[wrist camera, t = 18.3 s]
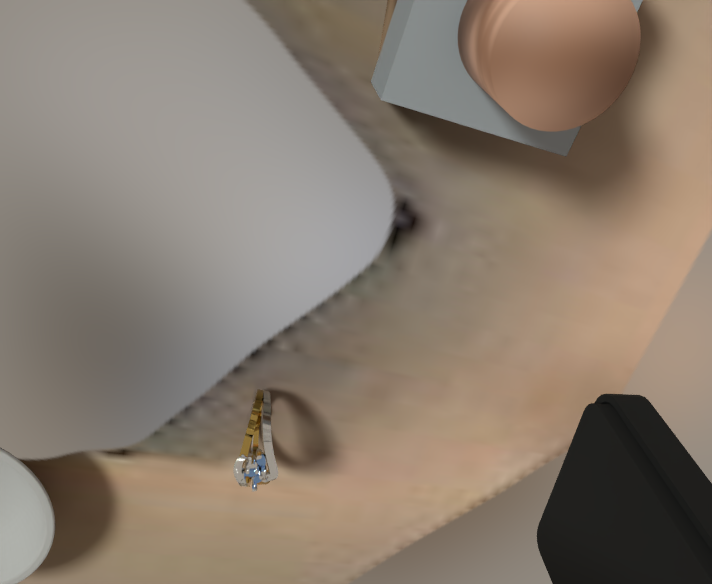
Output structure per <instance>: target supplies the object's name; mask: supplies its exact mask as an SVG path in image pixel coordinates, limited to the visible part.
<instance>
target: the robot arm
mask: <svg viewBox="0 0 712 584" xmlns="http://www.w3.org/2000/svg"><path fill="white" fill-rule="evenodd" d="M537 542H538V548H539V551H540V554H541V556H542V559H543V561H544V564H545V566H546V569H547V571H548V573H549V576H550V578H551V581H552V583H553V584H712V483H711V482H710V481H709V480H708V478H707V477H706V476H705V474H704V473H703V472H702V470H701V469H700V468H699V466H698V465H697V464H696V462H695V461H694V460H693V458H692V457H691V456H690V454H689V453H688V452H687V450H686V449H685V448H684V446H683V445H682V444H681V443H680V441H679V440H678V439H677V437H676V436H675V435H674V433H673V432H672V431H671V429H670V428H669V427H668V425H667V424H666V423H665V421H664V420H663V419H662V417H661V416H660V415H659V413H658V412H657V411H656V410H655V408H654V407H653V406H652V405H651V403H650V402H649V401H648V400H647V399H646V398H645V397H643V396H640V395H623V394H603V395H601V396H600V397H598V398H597V400H596V402H595V403H592V404H589V405H588V406H587V407H586V408H585V410H584V412H583V415H582V417H581V420H580V422H579V425H578V427H577V430H576V432H575V435H574V437H573V440H572V442H571V445H570V447H569V450H568V453H567V455H566V458H565V460H564V463H563V465H562V468H561V470H560V473H559V476H558V478H557V480H556V483H555V485H554V488H553V490H552V493H551V495H550V498H549V500H548V503H547V505H546V508H545V510H544V513H543V515H542V518H541V520H540V523H539V526H538V530H537Z"/></svg>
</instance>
